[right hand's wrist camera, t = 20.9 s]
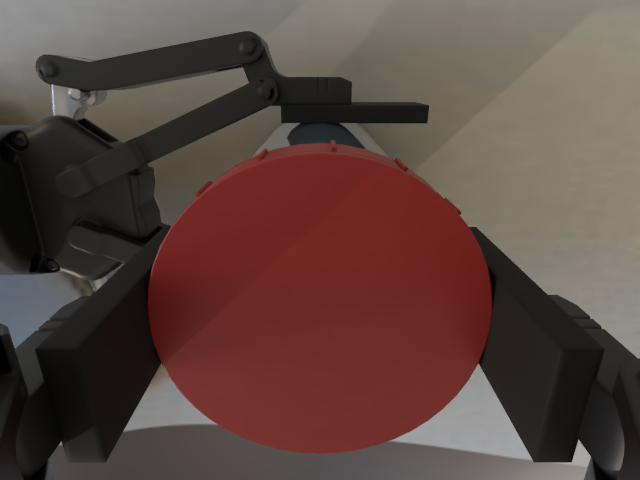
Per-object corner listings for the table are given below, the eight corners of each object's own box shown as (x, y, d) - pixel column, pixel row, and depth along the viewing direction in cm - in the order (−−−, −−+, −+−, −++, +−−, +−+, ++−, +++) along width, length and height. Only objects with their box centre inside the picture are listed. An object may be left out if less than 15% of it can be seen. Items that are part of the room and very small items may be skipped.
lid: (132, 164, 11) (100, 178, 9) (471, 121, 10) (498, 129, 9) (206, 423, 14) (192, 466, 12) (469, 397, 13) (489, 439, 12)
